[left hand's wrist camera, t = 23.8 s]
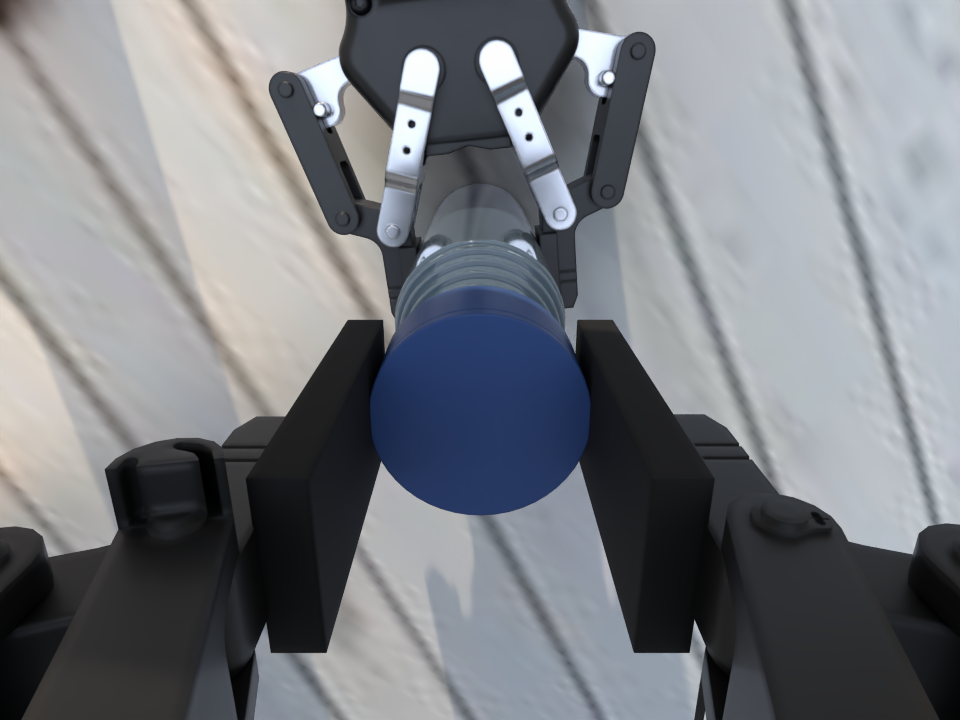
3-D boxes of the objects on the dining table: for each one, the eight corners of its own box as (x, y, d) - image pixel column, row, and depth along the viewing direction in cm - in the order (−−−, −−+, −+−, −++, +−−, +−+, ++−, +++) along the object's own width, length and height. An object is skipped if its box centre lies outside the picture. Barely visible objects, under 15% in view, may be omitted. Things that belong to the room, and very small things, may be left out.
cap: (377, 454, 15) (362, 505, 13) (390, 274, 13) (374, 300, 12) (560, 473, 15) (571, 525, 13) (592, 296, 14) (611, 327, 12)
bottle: (430, 276, 33) (363, 500, 14) (433, 180, 31) (361, 283, 12) (523, 281, 33) (584, 511, 14) (531, 186, 31) (612, 296, 12)
